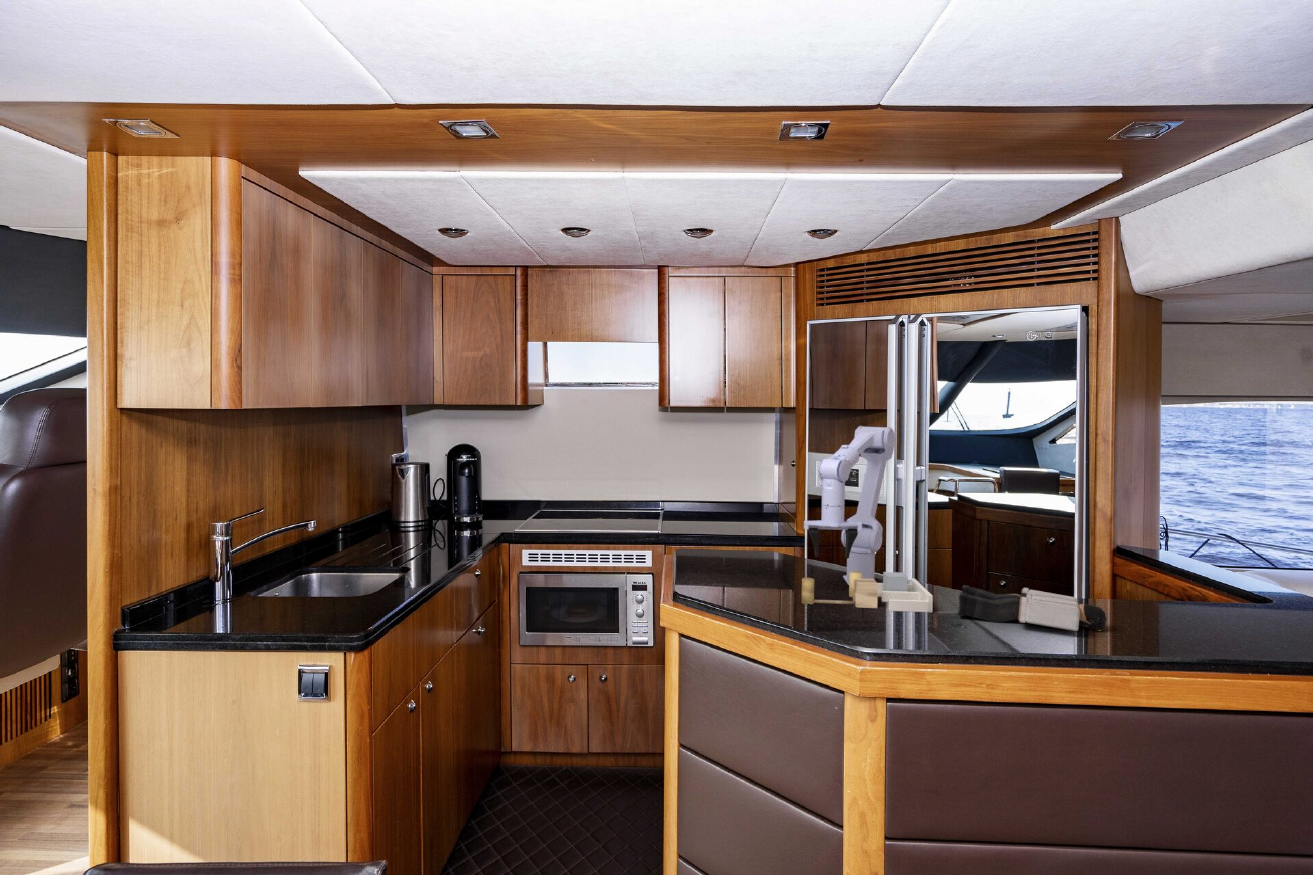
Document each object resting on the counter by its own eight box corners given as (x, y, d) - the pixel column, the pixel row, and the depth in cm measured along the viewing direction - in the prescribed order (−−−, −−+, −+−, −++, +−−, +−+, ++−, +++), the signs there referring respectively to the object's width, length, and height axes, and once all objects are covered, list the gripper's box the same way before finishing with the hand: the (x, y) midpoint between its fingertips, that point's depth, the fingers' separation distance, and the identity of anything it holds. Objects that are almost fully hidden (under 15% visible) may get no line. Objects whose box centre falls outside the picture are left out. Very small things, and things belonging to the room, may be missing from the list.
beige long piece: (800, 599, 184) (801, 576, 184) (873, 602, 182) (874, 578, 182) (802, 605, 180) (802, 581, 179) (877, 608, 178) (877, 583, 177)
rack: (875, 592, 192) (875, 577, 192) (914, 593, 191) (914, 578, 191) (889, 610, 175) (889, 594, 175) (932, 612, 174) (932, 595, 174)
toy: (955, 620, 167) (1109, 644, 153) (957, 590, 167) (1111, 611, 153) (964, 605, 184) (1103, 625, 169) (965, 578, 184) (1104, 595, 169)
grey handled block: (847, 593, 191) (848, 570, 191) (902, 595, 190) (903, 572, 189) (850, 598, 186) (851, 575, 186) (906, 600, 185) (907, 576, 184)
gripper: (806, 506, 185) (805, 559, 186) (864, 508, 184) (863, 561, 184) (803, 502, 192) (802, 553, 193) (859, 504, 191) (858, 555, 191)
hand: (831, 557), depth 189 cm, fingers open, 7 cm apart
